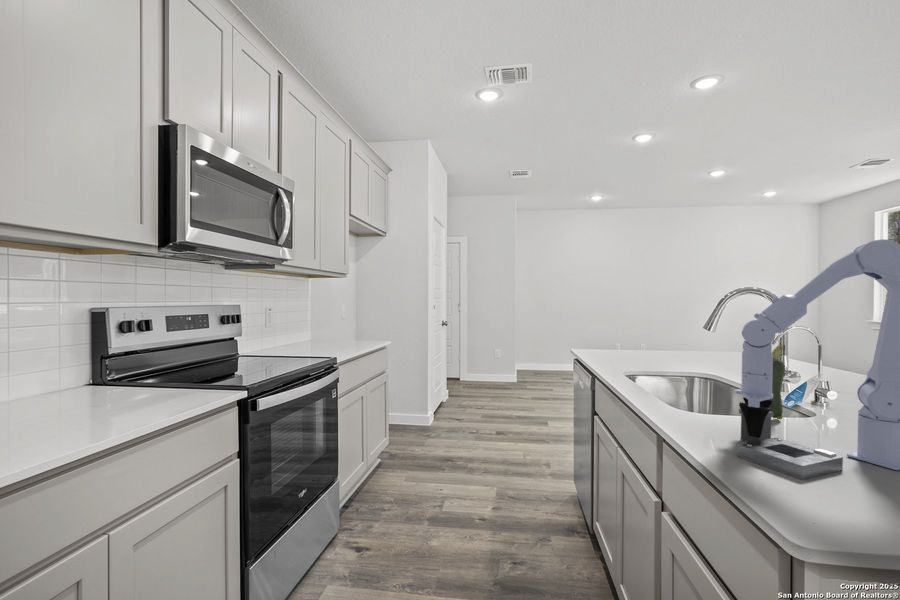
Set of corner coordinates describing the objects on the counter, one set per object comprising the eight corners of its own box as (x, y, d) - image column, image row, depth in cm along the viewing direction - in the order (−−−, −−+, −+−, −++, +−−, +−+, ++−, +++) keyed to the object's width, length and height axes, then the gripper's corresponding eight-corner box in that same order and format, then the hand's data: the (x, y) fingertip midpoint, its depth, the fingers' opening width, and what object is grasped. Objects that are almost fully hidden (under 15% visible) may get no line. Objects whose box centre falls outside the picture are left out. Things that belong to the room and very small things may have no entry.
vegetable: (764, 420, 116) (766, 344, 116) (762, 416, 120) (763, 343, 120) (785, 422, 114) (787, 345, 114) (782, 418, 118) (783, 344, 118)
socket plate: (775, 449, 95) (776, 435, 95) (842, 470, 84) (842, 454, 83) (737, 456, 90) (737, 441, 90) (802, 479, 79) (802, 463, 79)
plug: (752, 436, 103) (752, 407, 103) (772, 443, 98) (773, 412, 98) (738, 439, 101) (739, 408, 101) (759, 445, 97) (759, 414, 97)
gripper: (739, 366, 108) (738, 421, 108) (732, 375, 96) (730, 437, 96) (775, 370, 103) (773, 427, 103) (771, 379, 92) (770, 444, 92)
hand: (755, 432), depth 100 cm, fingers open, 6 cm apart
